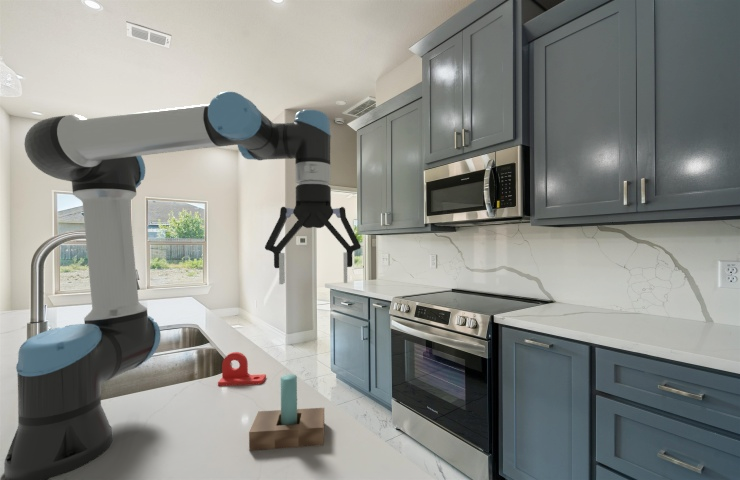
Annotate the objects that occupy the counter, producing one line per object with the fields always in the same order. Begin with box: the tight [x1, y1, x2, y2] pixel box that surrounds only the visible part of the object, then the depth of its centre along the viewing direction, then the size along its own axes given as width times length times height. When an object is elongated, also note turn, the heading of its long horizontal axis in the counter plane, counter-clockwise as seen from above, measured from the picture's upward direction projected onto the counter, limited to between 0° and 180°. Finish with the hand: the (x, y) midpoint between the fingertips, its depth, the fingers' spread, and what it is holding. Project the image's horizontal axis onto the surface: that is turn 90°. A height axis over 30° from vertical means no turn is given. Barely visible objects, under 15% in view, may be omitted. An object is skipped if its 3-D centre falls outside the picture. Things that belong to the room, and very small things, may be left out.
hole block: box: [248, 407, 325, 451], centre depth 71 cm, size 14×8×4 cm, turn 96°
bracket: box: [217, 351, 267, 387], centre depth 98 cm, size 12×4×8 cm, turn 94°
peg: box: [280, 373, 298, 425], centre depth 71 cm, size 3×3×12 cm
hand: (314, 283), depth 75 cm, fingers open, 13 cm apart
